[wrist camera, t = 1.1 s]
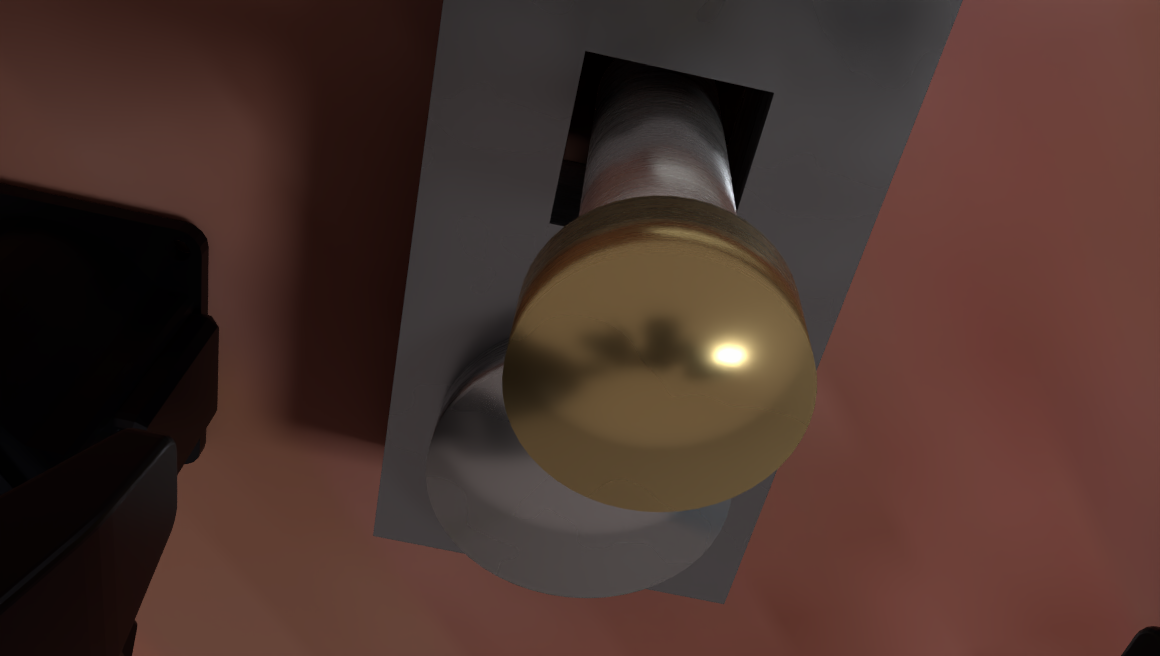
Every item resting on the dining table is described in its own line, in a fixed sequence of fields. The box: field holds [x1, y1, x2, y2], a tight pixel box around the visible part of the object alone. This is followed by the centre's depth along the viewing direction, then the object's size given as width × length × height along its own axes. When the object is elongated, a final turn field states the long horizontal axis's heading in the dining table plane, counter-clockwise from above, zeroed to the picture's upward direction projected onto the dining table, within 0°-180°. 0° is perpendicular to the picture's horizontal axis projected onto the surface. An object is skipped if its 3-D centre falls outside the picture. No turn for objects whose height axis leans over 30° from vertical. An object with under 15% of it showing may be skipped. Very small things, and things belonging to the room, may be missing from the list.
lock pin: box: [502, 58, 817, 512], centre depth 16 cm, size 4×4×10 cm
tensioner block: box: [373, 0, 963, 604], centre depth 20 cm, size 8×14×4 cm, turn 169°
